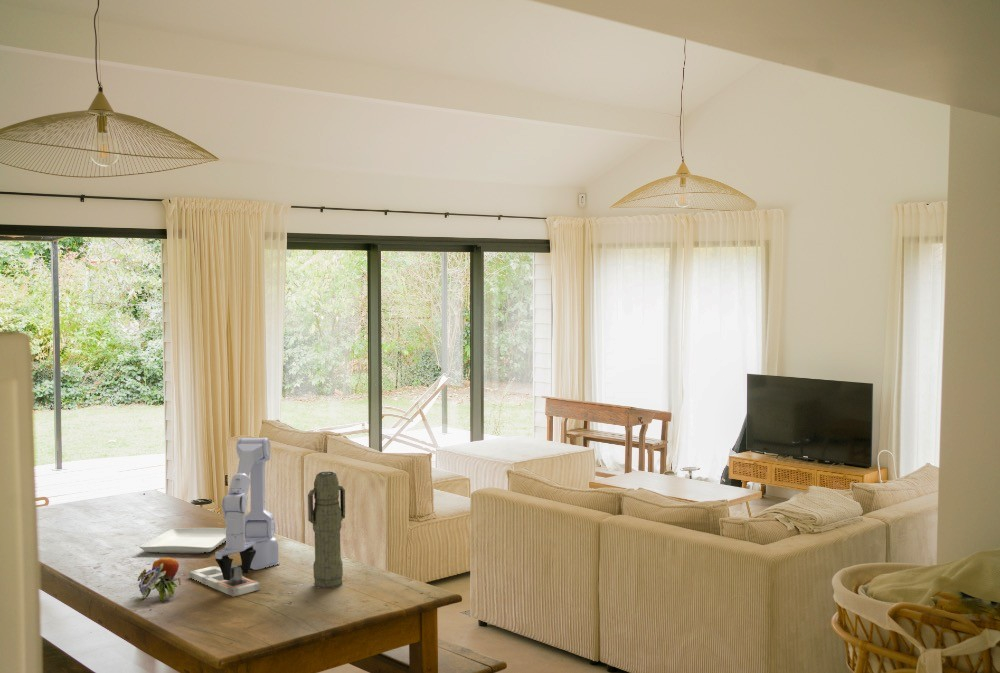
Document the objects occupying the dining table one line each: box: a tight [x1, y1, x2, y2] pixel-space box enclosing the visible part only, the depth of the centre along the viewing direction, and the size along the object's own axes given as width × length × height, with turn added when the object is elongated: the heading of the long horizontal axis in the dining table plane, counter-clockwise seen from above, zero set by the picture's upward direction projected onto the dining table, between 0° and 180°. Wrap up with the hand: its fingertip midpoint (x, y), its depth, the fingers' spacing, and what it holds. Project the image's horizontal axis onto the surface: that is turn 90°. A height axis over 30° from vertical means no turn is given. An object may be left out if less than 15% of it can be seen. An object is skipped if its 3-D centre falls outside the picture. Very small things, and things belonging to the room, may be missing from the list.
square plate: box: [139, 527, 226, 554], centre depth 336 cm, size 27×27×4 cm
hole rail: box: [188, 565, 261, 597], centre depth 290 cm, size 9×28×2 cm, turn 45°
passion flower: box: [137, 563, 182, 602], centre depth 278 cm, size 11×11×12 cm
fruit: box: [151, 557, 180, 581], centre depth 296 cm, size 8×8×8 cm
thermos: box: [307, 471, 346, 589], centre depth 287 cm, size 9×12×35 cm
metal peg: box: [229, 564, 243, 586], centre depth 285 cm, size 4×4×7 cm
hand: (236, 576), depth 284 cm, fingers open, 7 cm apart
